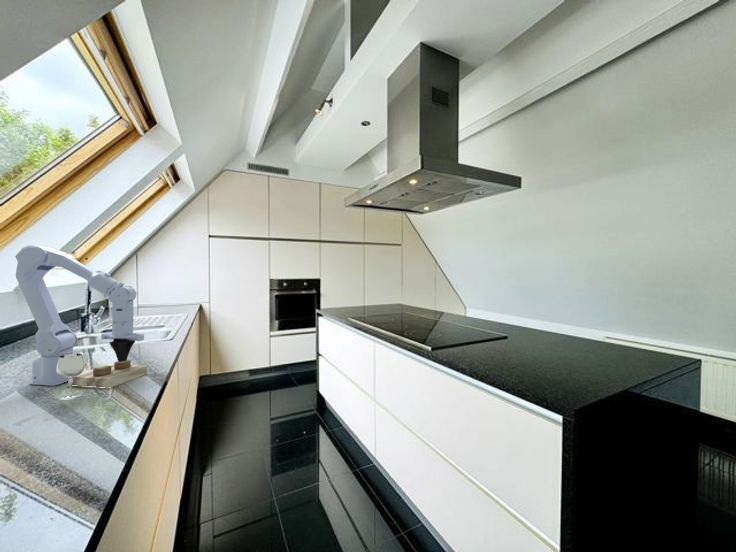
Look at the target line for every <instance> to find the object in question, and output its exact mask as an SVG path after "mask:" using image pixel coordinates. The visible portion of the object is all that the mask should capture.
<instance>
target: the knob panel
mask: <svg viewBox="0 0 736 552" xmlns="http://www.w3.org/2000/svg"><path fill="white" fill-rule="evenodd" d="M107 365H108V366H111V373H109V374H106V375H104V376H94V375H93V369H94V368H91V369H90V370H86V371H83V372H82V373H81V374H80V375H78V376H76V377H73V378H72V379H73V383H72V385H78V386H96V387H105V388H109V387H112V386H114V387H116V385H117V386H119V385H122V384H124V382H125V383H126V381H127V382H129V380H130V381H132V380H135V379H137V378H141V377H142V376H145V375H147V374H148V369H147V368H148V365H146V364H145V365H144V364H142V365H141V364H131V366H130V367H128V368H125V369H114V363H110V364H107ZM121 383H122V384H121ZM118 384H119V385H118ZM112 388H113V387H112ZM109 389H110V388H109Z"/></svg>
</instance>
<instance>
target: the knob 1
mask: <svg viewBox="0 0 736 552" xmlns="http://www.w3.org/2000/svg"><path fill="white" fill-rule="evenodd" d="M108 365H109V364H105V365H100V366H96V367H93V368H92V369H93V375H94V376H104V375H106V374H109V373H111V366H108Z"/></svg>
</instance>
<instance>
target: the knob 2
mask: <svg viewBox="0 0 736 552" xmlns="http://www.w3.org/2000/svg"><path fill="white" fill-rule="evenodd" d="M131 363H132V361H131V360H130V359H127V360H126V361H122V362H118V360H117V361H115V362H114V363H113V364H114V369H125V368H128V367H130V366H131V365H132V364H131Z"/></svg>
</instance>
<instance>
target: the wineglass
mask: <svg viewBox="0 0 736 552" xmlns="http://www.w3.org/2000/svg"><path fill="white" fill-rule="evenodd" d="M85 365H86V363H85V358H84V356H83V353H80V352H79V353H78V352H77V353H76V352H75V353H73V354H67V355H63V356H60V357H59V359H58V362H57V367H56V371H57V374H58V376H60V377H62V378H69V381H68V382H67V383H68V387H69V392H68V394H67V395H64V396H65V397H64V396H63V397H64V398H70V397H74V396H76V395H77V394H78V393H73V390H72V389H73V388H72V387H73V386H72V383H73V379H72V378H73V377H76V376H78V375H80V374H81V373H82V372H84V370H85Z"/></svg>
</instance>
